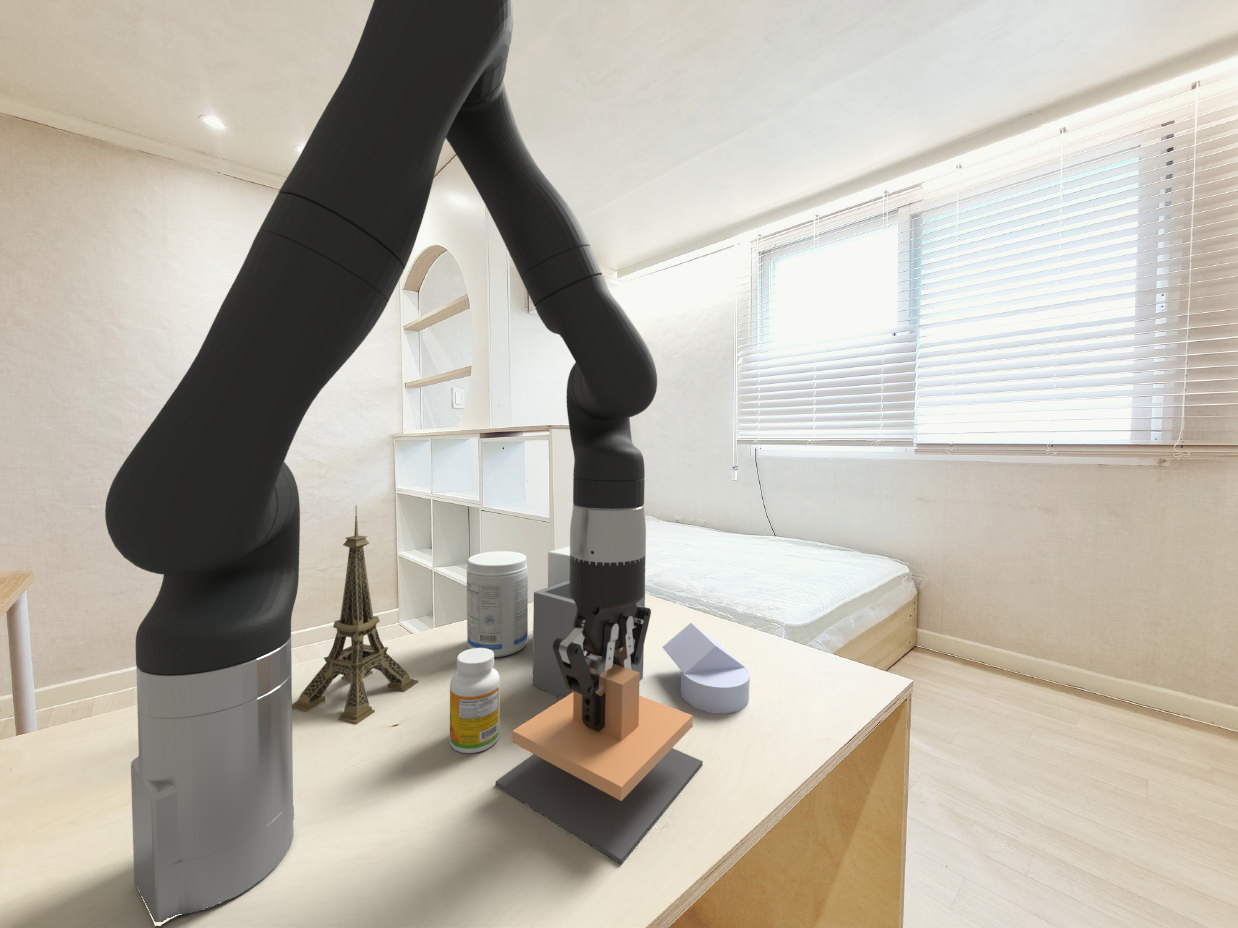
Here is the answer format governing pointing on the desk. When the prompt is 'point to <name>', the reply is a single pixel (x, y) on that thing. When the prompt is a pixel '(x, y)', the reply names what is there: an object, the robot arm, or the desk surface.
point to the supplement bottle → (474, 702)
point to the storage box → (556, 636)
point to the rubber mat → (600, 800)
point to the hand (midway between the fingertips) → (605, 717)
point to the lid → (606, 735)
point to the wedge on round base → (708, 672)
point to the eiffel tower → (355, 645)
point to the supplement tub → (497, 602)
